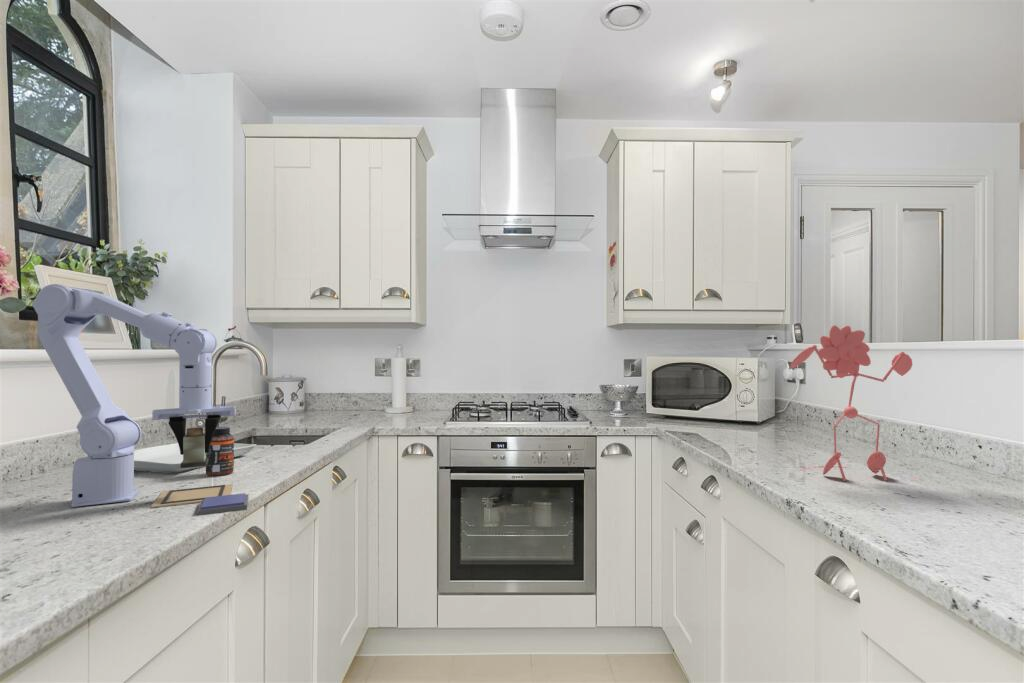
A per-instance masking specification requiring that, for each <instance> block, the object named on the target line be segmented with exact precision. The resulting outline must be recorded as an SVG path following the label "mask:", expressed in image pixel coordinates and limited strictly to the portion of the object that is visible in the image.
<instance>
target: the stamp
mask: <svg viewBox="0 0 1024 683" xmlns="http://www.w3.org/2000/svg"><path fill="white" fill-rule="evenodd" d="M205 439H206V432H204V429H203V427H199V426H198V427H190V428H186V434H185V436H184V437H183V461H182V463H181V468H189V467H200V466H204V467H206V465H207V463H208V457H207V458H206V453H205ZM200 468H201V467H200Z"/></svg>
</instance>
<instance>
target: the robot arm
mask: <svg viewBox="0 0 1024 683" xmlns="http://www.w3.org/2000/svg"><path fill="white" fill-rule="evenodd" d="M32 308H33V310H34V311H35V312H36V314H37V324H38V326H37V327H38V338H39V341H40V343H41V344H42V346H43V349H44V350H45V352H46V354H47V355H48V357H49V359H50V361H51V362H52V364H53V366H54V369H55V370H56V372H57V374H58V375H59V378H60V379H61V381H62V383H63V384H64V386H65V388H66V390H67V392H68V394H69V396H70V397H71V399H72V401H73V403H74V404H75V407H76V408H77V410H78V412H79V414H80V415H81V418H80V420H79V421H78V423H77V424H76V429H77V431H78V433H79V436H80V437H79V443H80V448H81V449H82V451H83V452H84V453H85V454H86V455H87V456H85V457H78V458H76V459H75V461H74V465H73V467H72V469H73V470H72V477H71V478H72V484H71V485H72V487H71V488H72V489H71V494H72V495H71V496H72V497H71V498H72V499H71V503H72V504H70V507H71V508H74V507H84V506H85V507H87V506H93V505H104V504H110V503H111V504H112V503H121V502H123V503H124V502H130V501H132V500H133V499H134V498H135V497H136V496H137V495H138V494H139V493H140V492H141V491H140V490H141V489H139V488H138V489H135V471H134V451H135V450H136V449H135V446H137V445H138V444H139V442H140V440H141V438H142V434H143V433H142V428H141V426H140V425H139V424H138V422H136V421H135V420H134V419H132V418H131V417H130V416H129V415H128V413H127V411H125V410H124V409H122V408H120V407H119V406H117V405H116V404H114V402H113V400H112V398H111V396H110V394H109V393H108V391H107V388H106V387H105V385H104V382H102V380H101V377H100V376H99V374H98V373H97V370H96V368H95V367H94V365H93V363H92V361H91V359H90V357H89V356H88V354H87V353H86V351H85V348H84V346H83V345H82V343H81V342H80V339H79V336H80V334H81V332H82V331H83V330H84V329H85V328H86V327H87V326H88V325H89V324H90V323H91V322H93V320H94V319H95V318H96V317H97V316H105V317H109V318H112V319H113V320H117V321H119V322H122V323H125V324H128V325H130V326H133V327H135V328H138V329H140V333H141V335H142V336H143V337H144V338H146V339H148V340H150V341H153V342H155V343H158V344H160V345H163V346H165V347H167V348H170V349H172V350H174V351H175V352H176V353H177V355H178V357H179V367H178V368H179V371H178V372H179V377H178V378H179V382H178V383H179V386H178V387H179V388H178V389H179V390H178V391H179V392H178V394H179V395H178V397H179V398H178V407H177V408H164V409H163V408H162V409H154V410H152V412H151V413H152V421H159V420H168V425H169V428H170V429H171V430H172V433H173V434H174V436H175V438H176V441H177V443H178V444H179V448H180V454H181V455H183V437H184V436H185V435H186V433H187V428H186V427H187V419H193V418H205V420H204V422H205V423H204V427H205V433H206V439H205V453H209V451H210V445H211V440H212V437H213V434H214V432H215V429H216V427H218V424H219V422H220V420H221V418H222V417H235V416H236V414H237V413H236V411H237V410H236V409H237V407H236V406H235V405H232V406H231V405H229V406H227V405H226V406H221V405H220V406H213V405H212V400H213V399H212V398H213V397H212V395H213V392H212V390H213V389H212V388H213V387H212V385H213V382H212V381H213V379H212V376H213V375H212V373H213V368H212V366H213V364H212V362H213V361H212V358H213V356H212V354H213V353H214V352H215V350H216V348H217V345H218V343H217V338H216V336H215V335H214V334H213V333H212V332H210V331H209V330H208V329H205V328H198V329H197V328H195V324H194V323H191V322H184V321H180V320H179V319H176V318H174V317H173V314H172V313H170V312H167V311H162V312H160V311H157V312H153V313H149V314H148V313H147V312H144V311H142V310H140V309H138V308H135V307H133V306H131V305H129V304H127V303H125V302H123V301H120V300H118V299H116V298H114V297H112V296H110V295H107V294H104V293H101V292H96V291H95V290H91V289H88V288H87V289H83V288H76V287H71V286H65V285H62V284H58V283H52V284H48V285H45V286H44V287H42V288H41V289H40V291H38V293H37V295H36V297H35V298H34V301H33V302H32Z"/></svg>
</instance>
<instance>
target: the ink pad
mask: <svg viewBox="0 0 1024 683" xmlns="http://www.w3.org/2000/svg"><path fill="white" fill-rule="evenodd" d="M248 504H249V494H248V493H247V494H246V492H243V493H237V494H234V493H233V494H230V495H225V496H216V497H207V498H205V499H202V502H200V504H199V507H198V509H197V511H196V512H197V516H200V515H211V514H216V513H223V512H224V513H225V512H227V513H228V512H234V511H242V510H247V509H248Z"/></svg>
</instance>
